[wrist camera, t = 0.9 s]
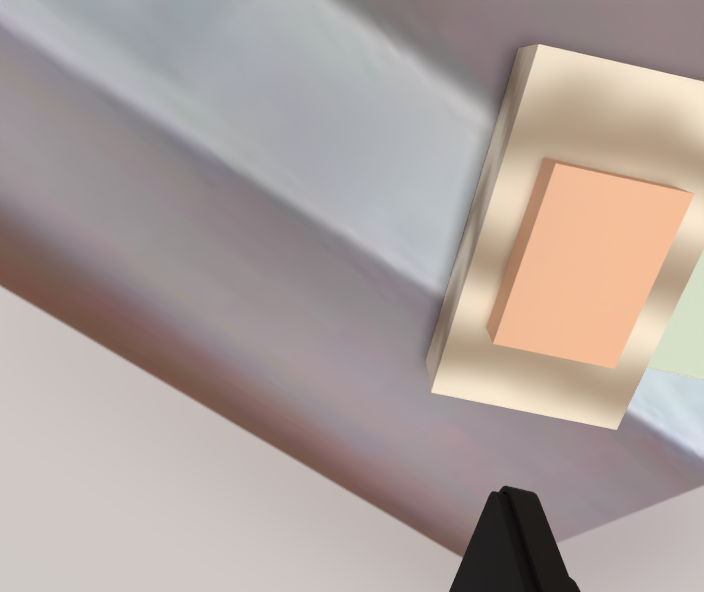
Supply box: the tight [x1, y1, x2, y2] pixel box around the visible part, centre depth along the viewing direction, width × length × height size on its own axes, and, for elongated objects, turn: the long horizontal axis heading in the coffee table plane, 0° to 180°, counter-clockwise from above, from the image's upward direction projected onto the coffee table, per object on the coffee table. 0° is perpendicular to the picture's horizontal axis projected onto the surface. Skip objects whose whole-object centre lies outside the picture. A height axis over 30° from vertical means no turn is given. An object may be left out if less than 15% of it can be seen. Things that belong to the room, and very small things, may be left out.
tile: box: [486, 158, 694, 369], centre depth 29 cm, size 10×7×2 cm
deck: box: [426, 44, 704, 430], centre depth 31 cm, size 20×12×4 cm, turn 168°
